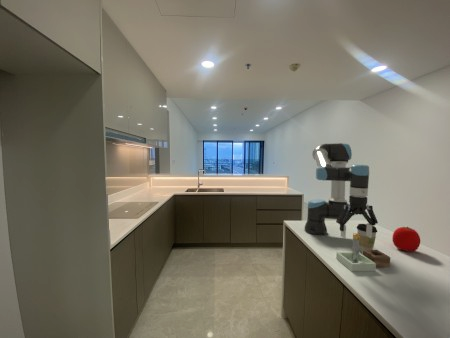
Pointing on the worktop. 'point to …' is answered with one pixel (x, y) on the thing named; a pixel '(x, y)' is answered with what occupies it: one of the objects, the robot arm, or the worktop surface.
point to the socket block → (377, 258)
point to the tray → (362, 264)
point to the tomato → (406, 239)
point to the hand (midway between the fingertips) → (355, 237)
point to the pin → (355, 248)
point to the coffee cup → (366, 238)
